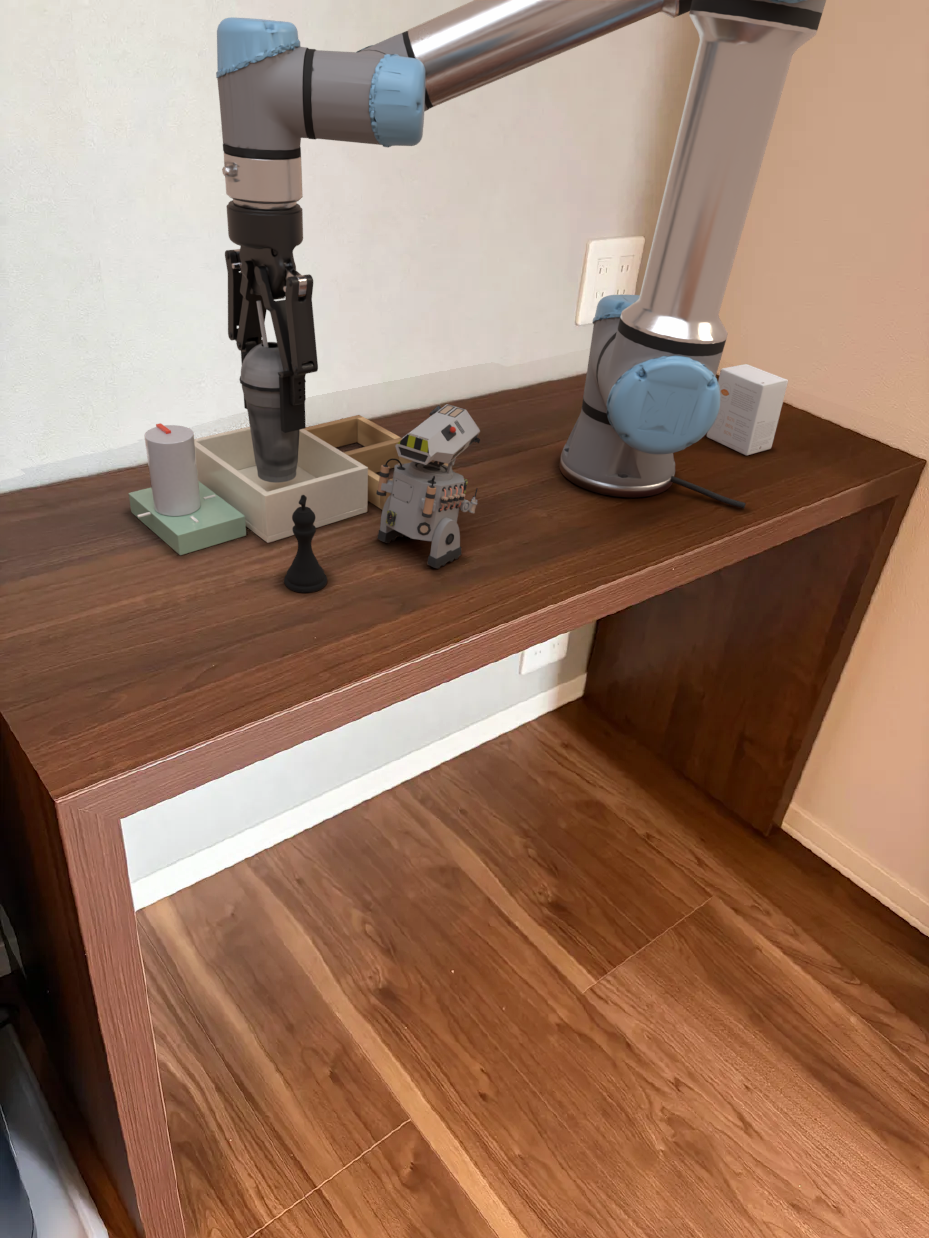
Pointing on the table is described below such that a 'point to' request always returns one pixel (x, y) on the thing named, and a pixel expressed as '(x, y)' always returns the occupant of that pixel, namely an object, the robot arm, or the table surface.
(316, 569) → the chess piece
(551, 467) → the table surface
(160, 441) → the tap knob
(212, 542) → the green dial base plate
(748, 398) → the small box
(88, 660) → the table surface
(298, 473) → the cream open storage tray
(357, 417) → the wooden compartment tray
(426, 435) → the figurine
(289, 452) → the beverage cup
